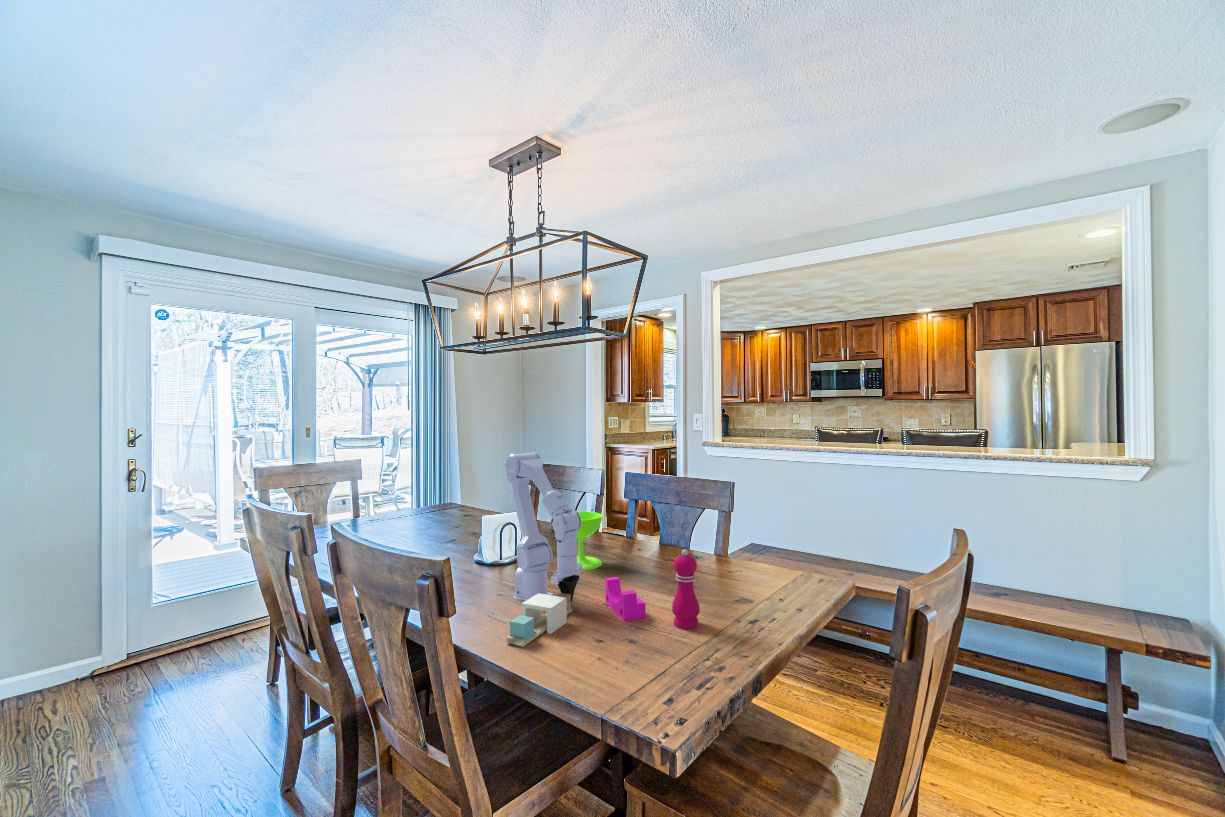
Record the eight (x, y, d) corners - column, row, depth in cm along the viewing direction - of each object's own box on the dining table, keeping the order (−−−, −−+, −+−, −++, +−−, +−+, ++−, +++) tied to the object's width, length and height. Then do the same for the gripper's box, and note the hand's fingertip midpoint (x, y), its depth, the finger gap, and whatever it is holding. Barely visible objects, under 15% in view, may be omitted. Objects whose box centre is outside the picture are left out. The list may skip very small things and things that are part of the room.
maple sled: (506, 643, 128) (506, 623, 128) (557, 608, 150) (557, 591, 150) (523, 646, 126) (523, 626, 126) (572, 611, 148) (572, 594, 148)
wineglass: (602, 571, 185) (601, 520, 185) (556, 571, 186) (555, 520, 186) (603, 558, 201) (602, 511, 201) (561, 558, 202) (560, 511, 202)
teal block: (510, 638, 129) (509, 621, 129) (520, 631, 132) (519, 615, 132) (524, 641, 127) (524, 624, 127) (534, 634, 131) (533, 617, 131)
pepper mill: (682, 633, 133) (681, 554, 133) (666, 623, 140) (665, 547, 140) (705, 627, 137) (704, 550, 137) (689, 618, 143) (688, 544, 143)
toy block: (645, 619, 143) (645, 591, 143) (624, 623, 141) (623, 595, 141) (625, 601, 157) (624, 575, 157) (605, 603, 155) (605, 578, 155)
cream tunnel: (521, 629, 137) (521, 603, 137) (538, 618, 144) (538, 593, 144) (550, 635, 133) (550, 608, 133) (566, 623, 141) (566, 597, 141)
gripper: (566, 562, 142) (567, 613, 142) (591, 549, 155) (591, 595, 155) (544, 559, 145) (544, 609, 145) (570, 547, 158) (571, 592, 158)
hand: (567, 602), depth 150 cm, fingers closed
